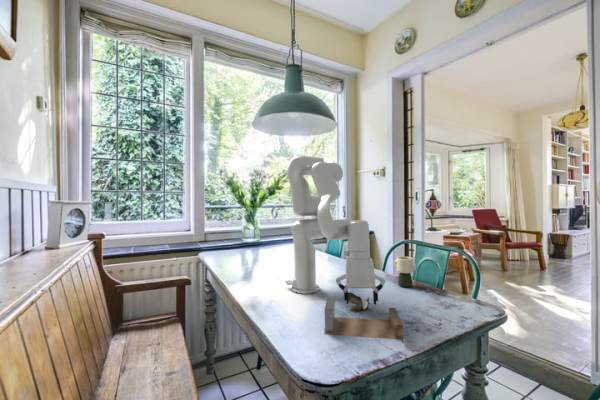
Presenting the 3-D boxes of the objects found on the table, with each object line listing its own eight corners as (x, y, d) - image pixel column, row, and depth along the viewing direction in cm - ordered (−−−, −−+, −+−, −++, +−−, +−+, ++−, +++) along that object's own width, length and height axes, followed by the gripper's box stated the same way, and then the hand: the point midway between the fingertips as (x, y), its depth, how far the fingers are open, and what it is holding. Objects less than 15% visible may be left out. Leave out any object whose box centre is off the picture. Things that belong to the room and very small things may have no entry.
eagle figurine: (366, 304, 103) (342, 299, 104) (371, 291, 99) (346, 286, 100) (366, 322, 97) (341, 316, 98) (371, 310, 93) (345, 304, 94)
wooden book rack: (324, 339, 80) (323, 320, 80) (327, 321, 92) (326, 304, 92) (403, 344, 77) (402, 325, 77) (395, 325, 88) (395, 308, 88)
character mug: (420, 287, 125) (420, 258, 125) (411, 290, 120) (411, 261, 120) (399, 281, 133) (399, 255, 133) (390, 284, 129) (390, 257, 129)
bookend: (325, 332, 81) (324, 308, 81) (327, 317, 91) (327, 296, 91) (333, 332, 81) (332, 309, 81) (334, 318, 91) (334, 297, 91)
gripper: (334, 256, 97) (336, 306, 96) (385, 256, 94) (387, 307, 93) (335, 253, 104) (337, 298, 104) (382, 252, 101) (384, 299, 101)
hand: (361, 302), depth 99 cm, fingers open, 9 cm apart
